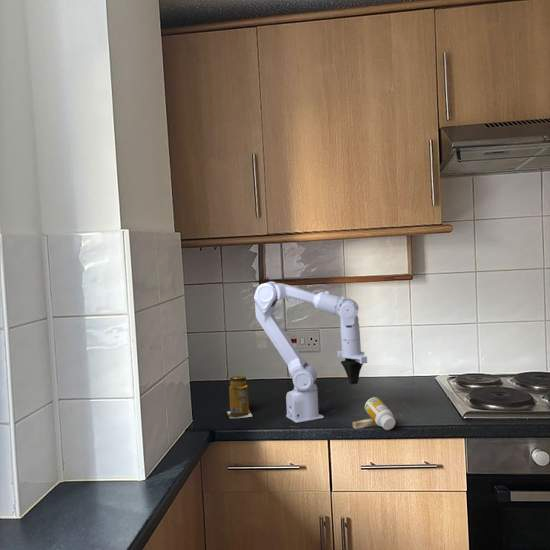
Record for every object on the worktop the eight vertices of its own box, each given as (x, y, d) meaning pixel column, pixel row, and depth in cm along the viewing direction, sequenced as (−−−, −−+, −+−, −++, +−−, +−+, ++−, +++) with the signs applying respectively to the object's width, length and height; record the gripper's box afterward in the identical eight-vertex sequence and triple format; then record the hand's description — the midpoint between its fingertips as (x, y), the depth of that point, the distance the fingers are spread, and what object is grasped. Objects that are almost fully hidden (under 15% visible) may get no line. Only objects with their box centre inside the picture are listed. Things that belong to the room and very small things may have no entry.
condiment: (248, 409, 189) (246, 374, 189) (252, 416, 181) (250, 379, 181) (227, 412, 188) (224, 376, 188) (229, 419, 180) (227, 381, 179)
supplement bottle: (371, 414, 170) (388, 435, 161) (360, 407, 167) (377, 427, 159) (383, 401, 169) (401, 420, 161) (372, 393, 166) (390, 413, 158)
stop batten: (356, 428, 163) (355, 423, 163) (352, 427, 165) (352, 422, 165) (394, 421, 168) (394, 416, 168) (391, 419, 170) (390, 414, 170)
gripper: (374, 340, 168) (377, 386, 168) (350, 335, 181) (353, 377, 182) (353, 343, 165) (357, 389, 166) (330, 337, 179) (333, 380, 179)
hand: (353, 383), depth 174 cm, fingers closed
